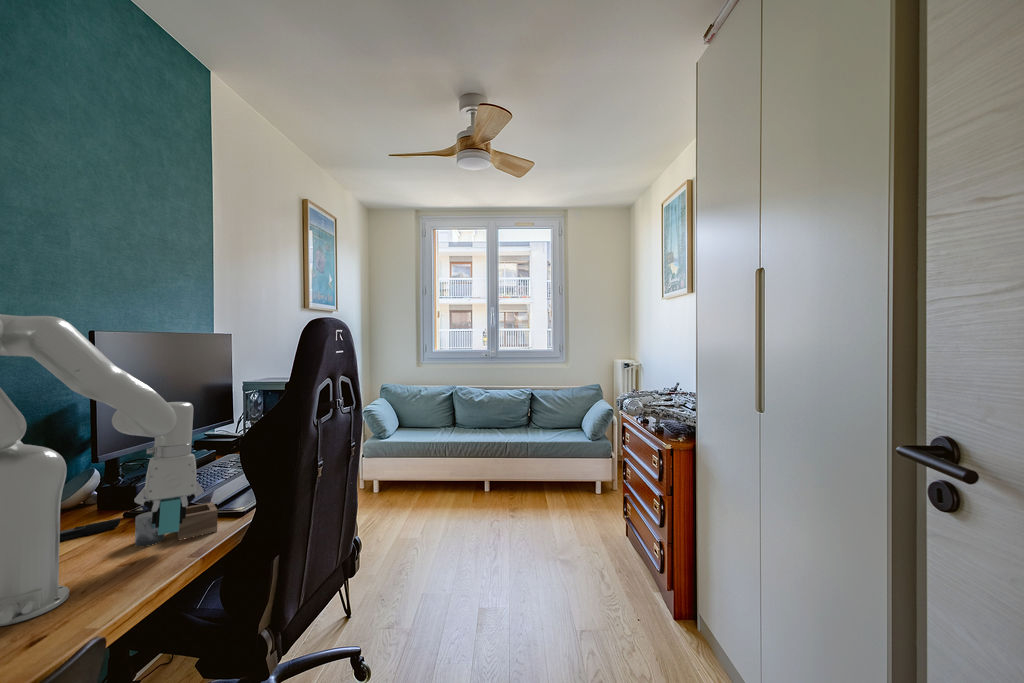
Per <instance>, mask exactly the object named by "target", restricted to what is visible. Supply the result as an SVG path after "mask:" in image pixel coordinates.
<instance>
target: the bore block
mask: <svg viewBox="0 0 1024 683" xmlns="http://www.w3.org/2000/svg"><path fill="white" fill-rule="evenodd" d="M218 512H219V511H218V508H217V507H216V505H215V503H214V501H210V502H205V503H199V504H196V505H190V506H187V507H186V518H185V519H182V523H181V524H180V523H179V531H178V532H176V535H178V536H177V539H178V538H179V539H183V540H185V539H184V538H188V539H190V538H189V537H192V538H194V537H193V536H196V537H199V536H198V535H201V536H203V535H202V534H205V535H208V533H209V534H213V533H212V532H214V533H217V532H218ZM216 531H217V532H216ZM179 539H178V540H179Z"/></svg>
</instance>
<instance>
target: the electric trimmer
mask: <svg viewBox="0 0 1024 683" xmlns="http://www.w3.org/2000/svg"><path fill="white" fill-rule="evenodd" d="M121 521H122V518H121V517H119V518H113V519H109V520H105V521H104V520H103V521H98V522H94V523H87V524H85V525H80V526H79V525H78V526H75V527H74V528H73V527H72V528H67V529H64V530H60V541H61V540H62V541H65V540H70V539H74V538H78V537H81V536H82V537H83V536H91V534H92V535H94V534H98V533H101V532H105V531H108V530H112V529H115V528H117V527H119V525H120V523H121Z"/></svg>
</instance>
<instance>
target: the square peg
mask: <svg viewBox="0 0 1024 683" xmlns="http://www.w3.org/2000/svg"><path fill="white" fill-rule="evenodd" d="M180 504H181V498H180V497H175V498H168V499H161V500H160V504H159V510H160V517H159V527H158V535H162V534H165V535H167V534H172V533H177V532H178V531H179V521H180Z"/></svg>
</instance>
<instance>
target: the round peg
mask: <svg viewBox="0 0 1024 683" xmlns="http://www.w3.org/2000/svg"><path fill="white" fill-rule="evenodd" d="M134 527H135V529H134V531H135V532H134V536H135V537H134V546H135V545H136V546H135V547H138V546H145V547H148V546H147V545H150V546H153V545H152V544H154V545H156V544H155V543H157V544H159V543H158V542H160V541H162V540H163V539H164V540H165V538H166V537H165V535H166V534H162V535H158V528H155V524H152V511H151V510H150V511H147V512H144V513H140V514H138V515H136V516H135V526H134ZM164 540H163V541H164ZM163 541H162V542H163ZM160 543H161V542H160Z"/></svg>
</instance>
